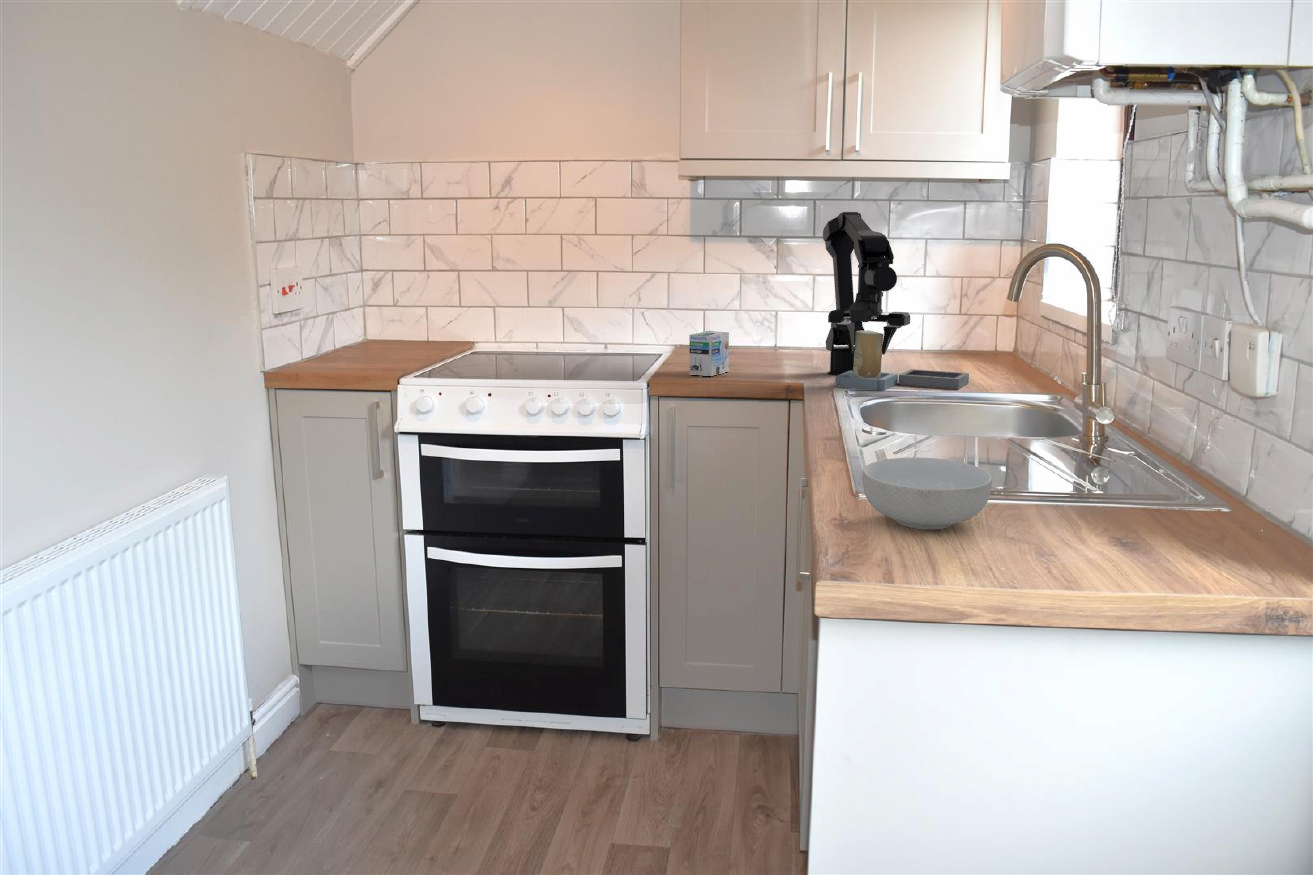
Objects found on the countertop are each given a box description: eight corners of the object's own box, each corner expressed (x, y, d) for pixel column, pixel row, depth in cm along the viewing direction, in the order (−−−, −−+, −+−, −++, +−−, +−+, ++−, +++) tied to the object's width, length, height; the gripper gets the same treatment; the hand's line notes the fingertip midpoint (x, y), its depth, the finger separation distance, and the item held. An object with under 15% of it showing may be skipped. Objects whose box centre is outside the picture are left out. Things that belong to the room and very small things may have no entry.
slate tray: (833, 387, 250) (834, 376, 249) (850, 379, 260) (850, 370, 260) (883, 391, 244) (883, 380, 244) (898, 383, 255) (898, 373, 254)
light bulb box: (711, 378, 265) (711, 335, 263) (688, 376, 268) (688, 334, 266) (729, 372, 274) (729, 331, 272) (706, 370, 277) (706, 330, 275)
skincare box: (851, 380, 254) (854, 330, 252) (867, 379, 256) (869, 329, 253) (865, 384, 248) (868, 333, 246) (881, 383, 250) (884, 333, 247)
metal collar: (898, 385, 252) (898, 374, 252) (910, 379, 261) (910, 369, 261) (958, 389, 245) (959, 379, 245) (968, 383, 254) (969, 373, 254)
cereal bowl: (841, 526, 140) (842, 475, 138) (887, 498, 153) (889, 452, 152) (966, 548, 130) (969, 494, 129) (1004, 516, 144) (1007, 466, 142)
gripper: (821, 289, 245) (819, 355, 248) (899, 292, 236) (896, 360, 239) (836, 286, 254) (834, 349, 258) (912, 288, 245) (909, 354, 249)
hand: (867, 353), depth 251 cm, fingers open, 8 cm apart
